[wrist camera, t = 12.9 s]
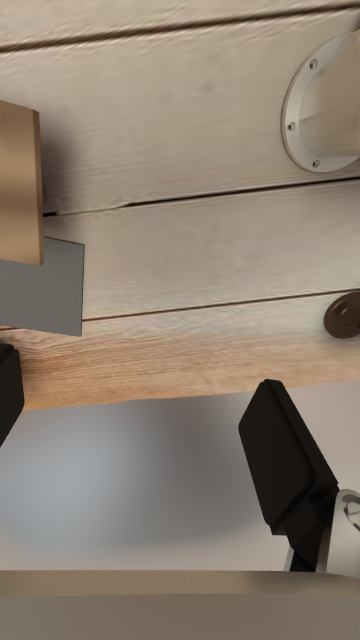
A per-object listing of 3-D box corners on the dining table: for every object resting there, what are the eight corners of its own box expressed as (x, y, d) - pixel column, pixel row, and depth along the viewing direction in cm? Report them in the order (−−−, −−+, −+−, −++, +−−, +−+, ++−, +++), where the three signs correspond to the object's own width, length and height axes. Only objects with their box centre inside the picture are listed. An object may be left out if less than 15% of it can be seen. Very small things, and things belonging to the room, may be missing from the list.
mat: (-39, 219, 34) (-42, 220, 33) (84, 244, 36) (83, 245, 36) (-20, 320, 42) (-22, 322, 41) (81, 335, 44) (80, 336, 44)
